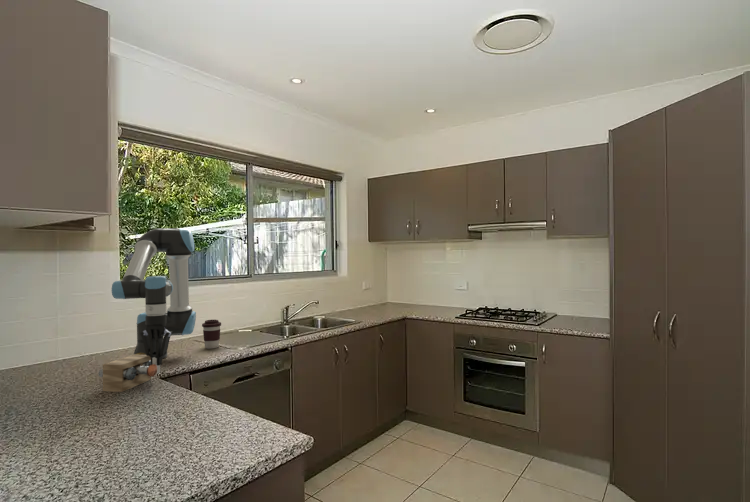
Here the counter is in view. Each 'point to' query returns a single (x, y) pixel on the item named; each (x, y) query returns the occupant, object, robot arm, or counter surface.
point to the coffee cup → (211, 333)
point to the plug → (127, 374)
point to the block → (115, 373)
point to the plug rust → (146, 370)
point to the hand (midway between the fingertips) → (156, 373)
